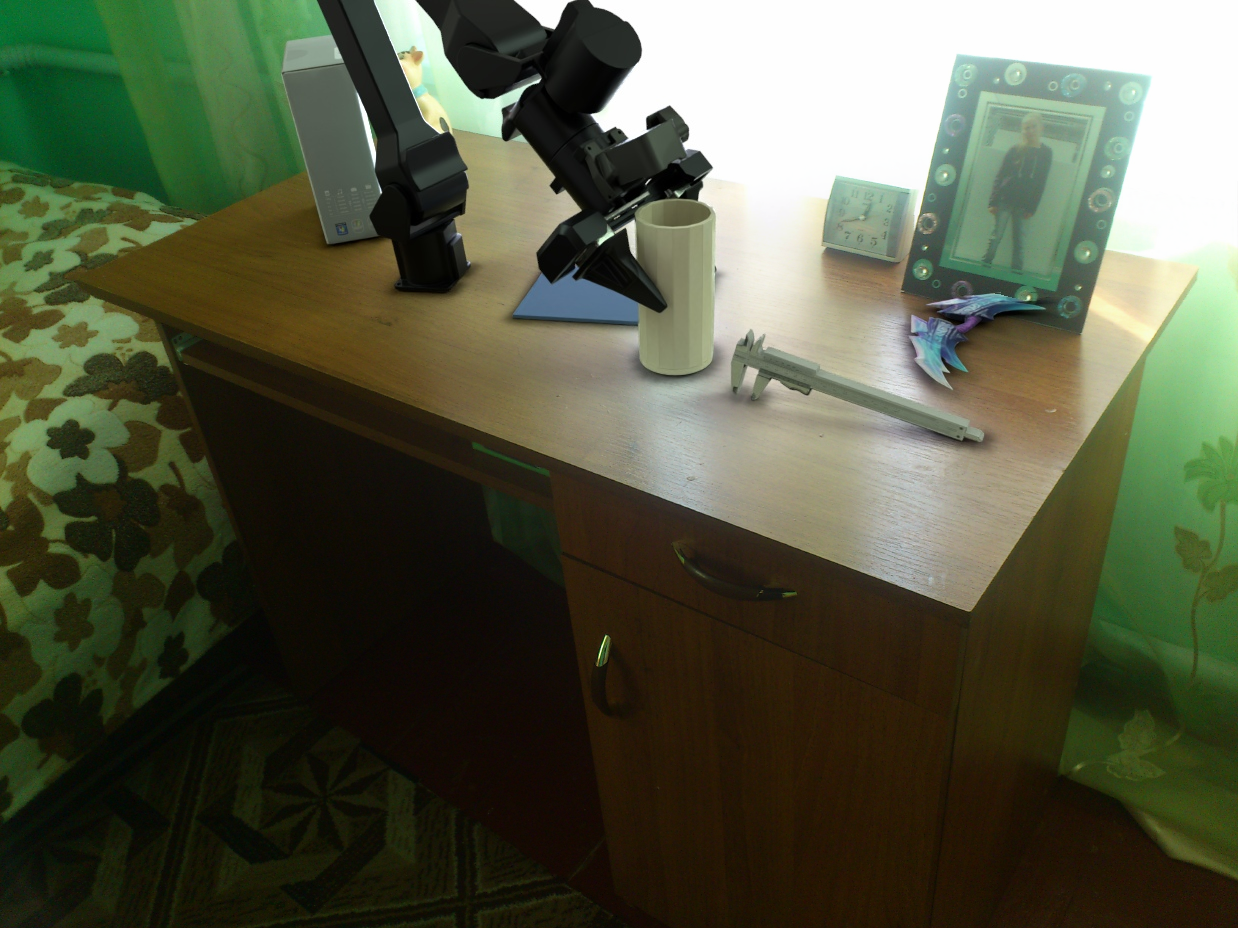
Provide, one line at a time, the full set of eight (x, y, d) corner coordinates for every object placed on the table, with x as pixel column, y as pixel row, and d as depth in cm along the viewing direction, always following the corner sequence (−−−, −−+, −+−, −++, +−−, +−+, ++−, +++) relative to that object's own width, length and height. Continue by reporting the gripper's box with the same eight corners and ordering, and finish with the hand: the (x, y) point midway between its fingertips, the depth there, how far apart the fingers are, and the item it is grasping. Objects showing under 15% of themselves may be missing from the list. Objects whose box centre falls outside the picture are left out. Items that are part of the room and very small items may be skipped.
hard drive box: (392, 236, 116) (350, 62, 104) (327, 248, 115) (277, 73, 103) (386, 190, 128) (347, 29, 116) (327, 200, 127) (282, 39, 115)
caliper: (731, 396, 83) (729, 332, 79) (735, 390, 84) (734, 325, 80) (981, 445, 74) (993, 376, 71) (984, 437, 75) (995, 368, 71)
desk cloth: (512, 318, 97) (512, 314, 97) (548, 268, 106) (547, 265, 105) (689, 328, 93) (689, 324, 92) (712, 275, 101) (712, 271, 101)
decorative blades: (981, 266, 95) (1079, 297, 89) (980, 273, 96) (1077, 305, 89) (854, 344, 86) (953, 385, 79) (853, 352, 86) (952, 394, 80)
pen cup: (630, 370, 87) (625, 225, 79) (650, 336, 92) (647, 196, 84) (703, 379, 85) (705, 231, 77) (719, 343, 90) (722, 201, 82)
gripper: (541, 122, 71) (675, 292, 71) (689, 52, 82) (803, 199, 82) (484, 207, 80) (604, 357, 80) (624, 134, 91) (728, 266, 91)
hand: (689, 292), depth 83 cm, fingers closed on pen cup, 7 cm apart
